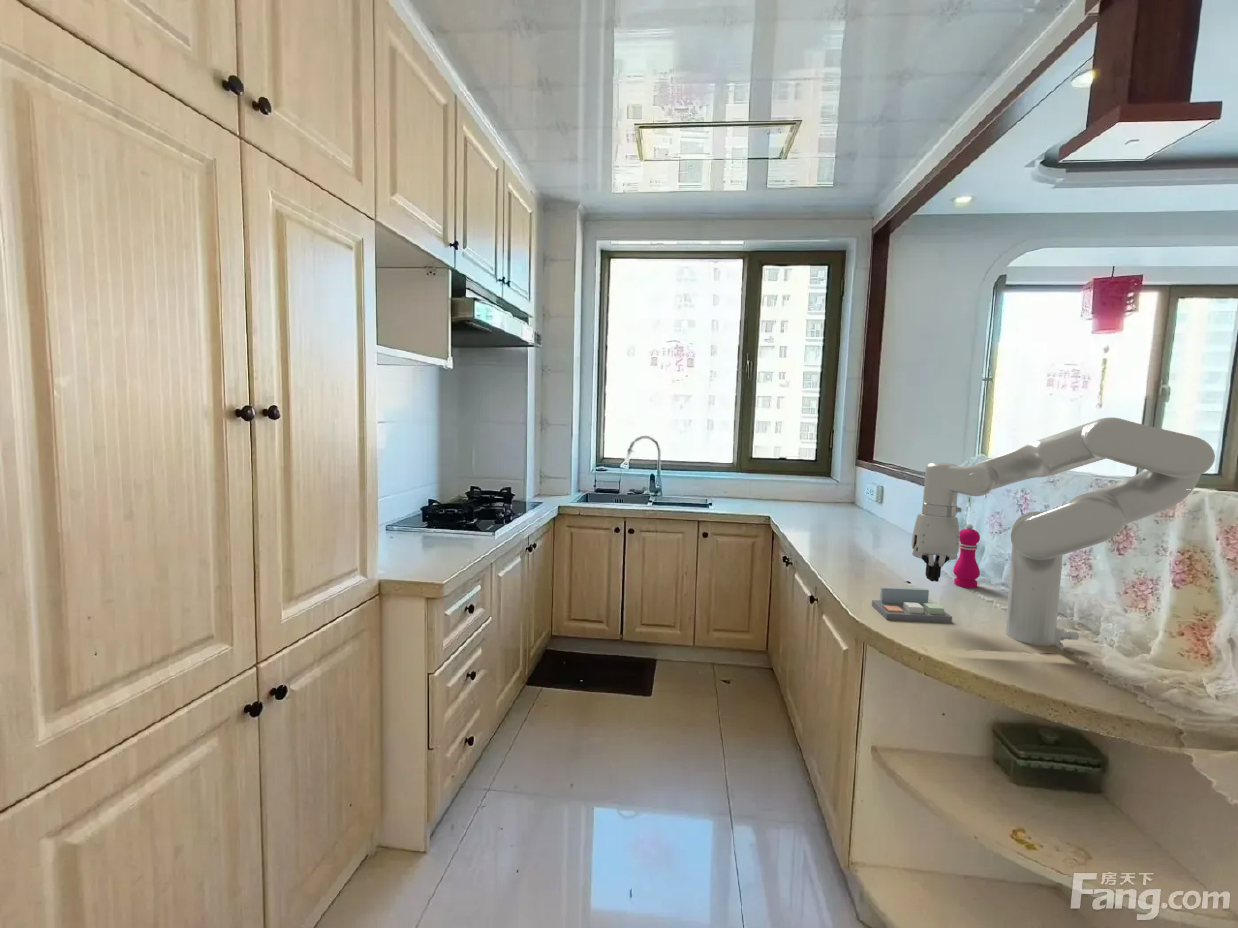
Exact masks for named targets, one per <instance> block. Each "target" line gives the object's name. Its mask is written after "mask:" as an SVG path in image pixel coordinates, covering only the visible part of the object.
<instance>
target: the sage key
mask: <svg viewBox="0 0 1238 928" xmlns="http://www.w3.org/2000/svg"><path fill="white" fill-rule="evenodd" d="M931 603H932V602H928V603H923V607H924V611H926V612H927V613H928V614H942V615H944V611H945V608H944V607H943V606H941V605H940V604H939V603H934V604H931Z"/></svg>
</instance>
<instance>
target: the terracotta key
mask: <svg viewBox="0 0 1238 928" xmlns="http://www.w3.org/2000/svg"><path fill="white" fill-rule="evenodd" d="M884 609H885V610H887V611H888V612H900V613H903V610H902V609H901V608H899V607H898V606H885V605H884Z"/></svg>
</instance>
